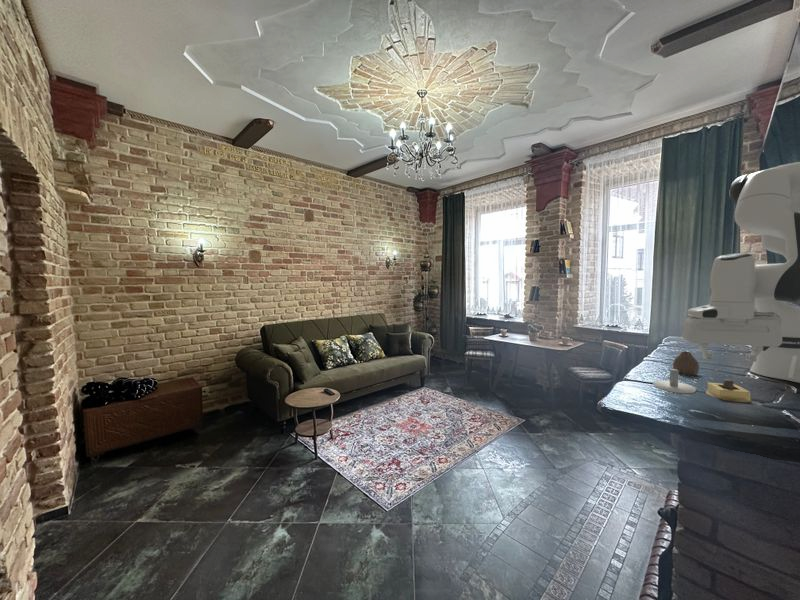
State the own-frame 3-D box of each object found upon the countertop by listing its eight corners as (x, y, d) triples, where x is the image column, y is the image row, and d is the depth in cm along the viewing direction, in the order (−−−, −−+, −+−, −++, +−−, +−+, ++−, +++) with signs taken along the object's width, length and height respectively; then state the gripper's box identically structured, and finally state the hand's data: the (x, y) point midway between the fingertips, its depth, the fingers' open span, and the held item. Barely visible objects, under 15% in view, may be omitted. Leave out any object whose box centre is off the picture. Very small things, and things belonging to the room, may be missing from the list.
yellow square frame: (735, 392, 92) (736, 384, 92) (750, 401, 86) (750, 392, 86) (707, 390, 94) (707, 382, 94) (719, 398, 88) (719, 389, 88)
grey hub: (686, 388, 101) (686, 366, 100) (702, 399, 92) (703, 376, 91) (648, 385, 104) (648, 364, 104) (660, 395, 95) (660, 373, 95)
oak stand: (738, 396, 93) (739, 376, 92) (759, 408, 84) (760, 387, 84) (699, 393, 96) (700, 374, 96) (716, 404, 88) (716, 383, 87)
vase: (704, 379, 108) (704, 354, 107) (680, 379, 109) (681, 354, 109) (689, 373, 115) (690, 350, 114) (668, 373, 116) (668, 349, 115)
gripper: (773, 311, 87) (770, 360, 88) (680, 309, 95) (678, 354, 96) (790, 313, 82) (787, 365, 82) (690, 311, 89) (688, 359, 90)
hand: (728, 360), depth 89 cm, fingers open, 8 cm apart
